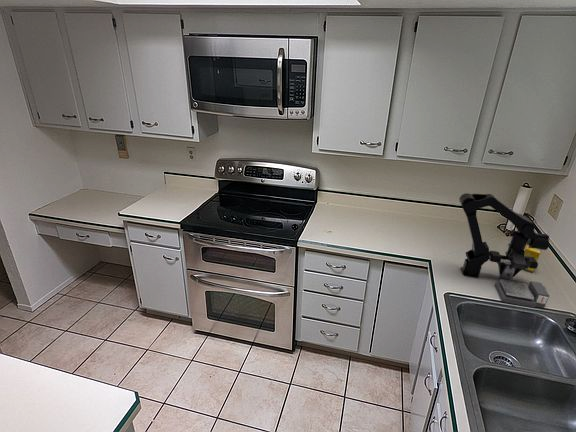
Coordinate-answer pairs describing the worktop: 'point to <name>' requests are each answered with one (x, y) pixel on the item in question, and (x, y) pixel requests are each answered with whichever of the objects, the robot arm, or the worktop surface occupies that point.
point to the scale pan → (516, 289)
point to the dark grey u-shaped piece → (536, 290)
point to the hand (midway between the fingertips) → (506, 275)
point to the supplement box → (531, 255)
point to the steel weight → (507, 272)
